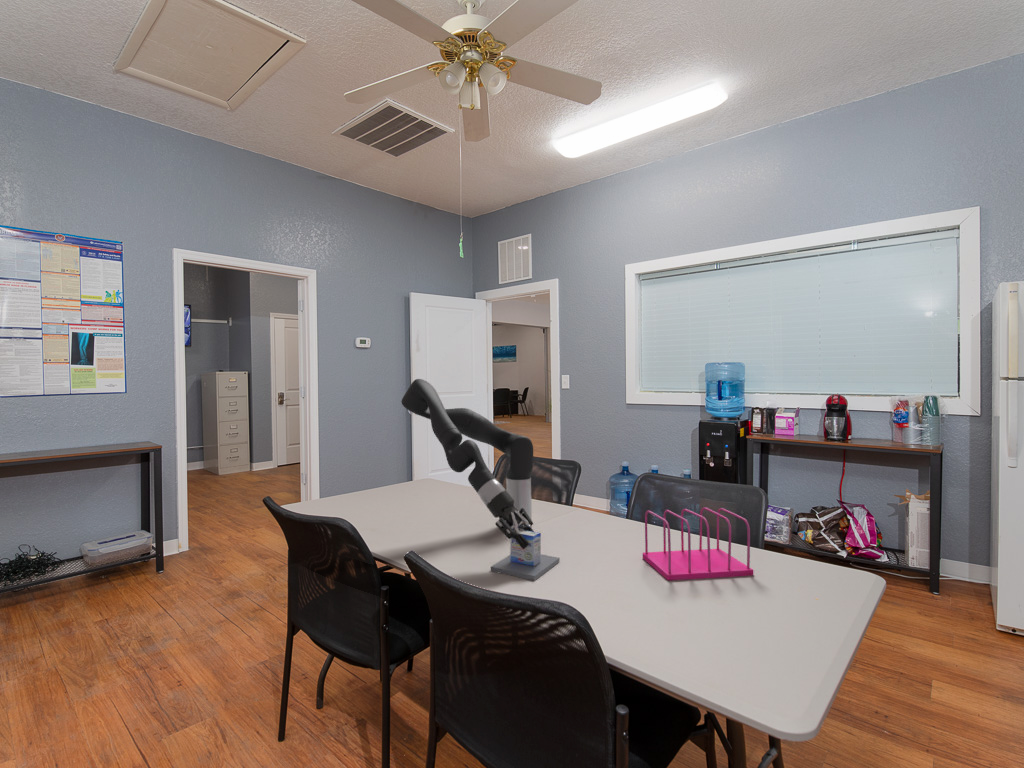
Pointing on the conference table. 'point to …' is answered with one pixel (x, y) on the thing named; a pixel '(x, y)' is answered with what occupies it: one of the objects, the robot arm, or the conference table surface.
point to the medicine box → (526, 549)
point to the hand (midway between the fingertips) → (531, 543)
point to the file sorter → (696, 553)
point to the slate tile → (525, 567)
